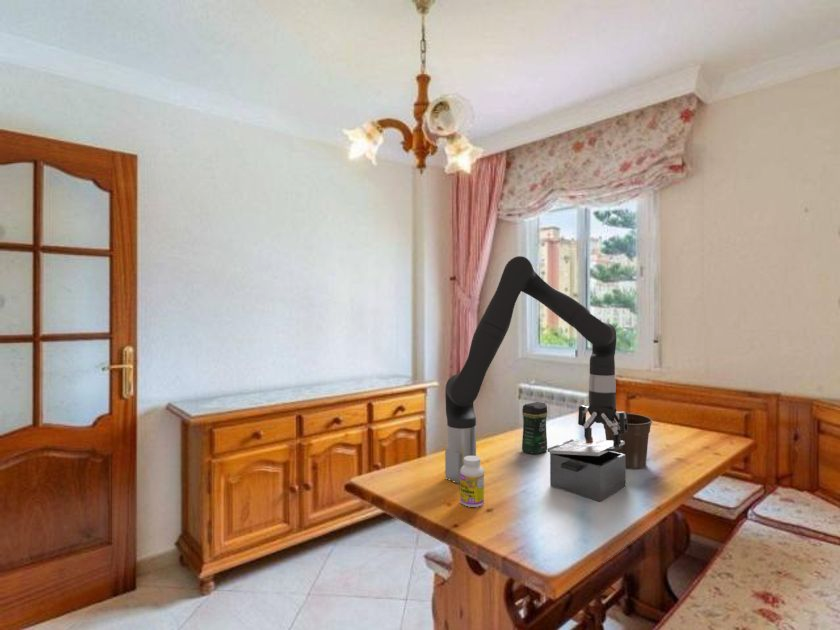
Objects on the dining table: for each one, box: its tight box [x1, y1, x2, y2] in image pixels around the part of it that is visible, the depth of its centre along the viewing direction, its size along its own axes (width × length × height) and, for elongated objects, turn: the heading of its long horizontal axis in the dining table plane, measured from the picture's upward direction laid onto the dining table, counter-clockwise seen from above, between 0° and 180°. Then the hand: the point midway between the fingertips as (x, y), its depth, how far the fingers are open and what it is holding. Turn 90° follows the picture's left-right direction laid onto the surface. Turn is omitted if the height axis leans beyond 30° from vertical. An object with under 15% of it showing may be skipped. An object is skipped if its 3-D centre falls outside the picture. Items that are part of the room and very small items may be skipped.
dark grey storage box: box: [549, 451, 627, 503], centre depth 141 cm, size 22×16×10 cm
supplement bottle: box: [459, 455, 485, 508], centre depth 130 cm, size 7×7×13 cm
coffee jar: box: [521, 401, 548, 455], centre depth 176 cm, size 10×8×19 cm
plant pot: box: [602, 412, 653, 470], centre depth 161 cm, size 16×16×16 cm
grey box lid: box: [547, 437, 625, 456], centre depth 141 cm, size 16×19×2 cm
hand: (602, 443), depth 138 cm, fingers open, 8 cm apart
